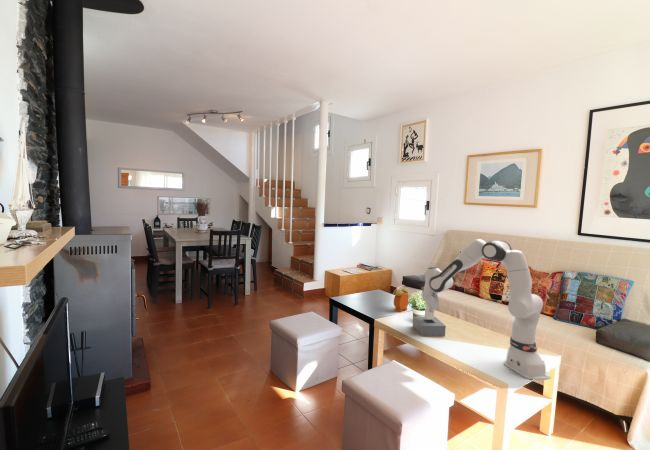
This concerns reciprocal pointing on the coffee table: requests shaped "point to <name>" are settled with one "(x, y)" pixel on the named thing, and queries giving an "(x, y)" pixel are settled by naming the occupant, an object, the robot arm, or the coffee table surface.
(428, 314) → the plug peg
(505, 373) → the coffee table surface
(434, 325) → the socket block
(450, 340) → the coffee table surface
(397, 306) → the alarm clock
